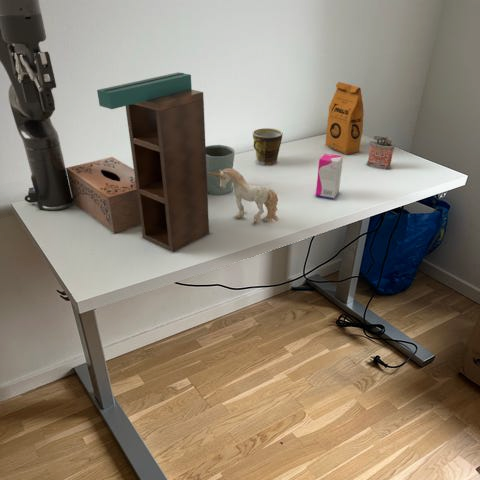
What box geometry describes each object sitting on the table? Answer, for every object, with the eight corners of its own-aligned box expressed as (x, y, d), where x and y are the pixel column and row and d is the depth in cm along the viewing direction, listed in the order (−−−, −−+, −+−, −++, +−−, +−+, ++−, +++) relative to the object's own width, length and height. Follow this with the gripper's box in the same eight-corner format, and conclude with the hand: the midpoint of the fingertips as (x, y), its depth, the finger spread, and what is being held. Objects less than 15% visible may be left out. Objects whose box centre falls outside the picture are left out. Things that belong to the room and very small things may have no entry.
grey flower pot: (206, 181, 157) (205, 143, 149) (237, 184, 155) (237, 145, 148) (198, 194, 149) (196, 154, 142) (230, 197, 147) (230, 157, 140)
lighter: (391, 167, 167) (397, 137, 161) (388, 170, 165) (394, 139, 159) (369, 162, 170) (373, 132, 164) (365, 165, 168) (370, 135, 162)
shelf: (172, 252, 121) (158, 103, 100) (142, 238, 127) (123, 94, 106) (209, 233, 129) (203, 92, 108) (179, 221, 135) (168, 84, 114)
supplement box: (339, 192, 150) (344, 155, 143) (333, 200, 146) (338, 161, 139) (320, 189, 152) (324, 152, 145) (314, 196, 148) (318, 158, 141)
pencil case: (111, 109, 97) (109, 92, 95) (99, 106, 99) (96, 89, 97) (191, 89, 110) (190, 73, 108) (179, 86, 112) (178, 71, 110)
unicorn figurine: (216, 208, 141) (214, 162, 133) (283, 217, 137) (285, 169, 129) (208, 219, 135) (206, 172, 127) (277, 228, 131) (280, 180, 123)
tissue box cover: (161, 218, 136) (157, 183, 130) (114, 233, 129) (108, 197, 123) (117, 189, 152) (112, 156, 146) (73, 201, 145) (65, 167, 139)
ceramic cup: (262, 155, 176) (263, 126, 170) (286, 161, 172) (288, 131, 165) (241, 165, 168) (241, 136, 162) (266, 172, 163) (267, 141, 157)
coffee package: (342, 156, 175) (351, 90, 162) (321, 146, 184) (327, 82, 170) (364, 152, 179) (374, 86, 166) (341, 142, 188) (349, 79, 174)
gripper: (-17, 9, 90) (8, 103, 100) (12, 16, 82) (36, 118, 92) (23, 6, 94) (43, 97, 104) (55, 13, 86) (74, 111, 96)
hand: (40, 107), depth 98 cm, fingers open, 8 cm apart
